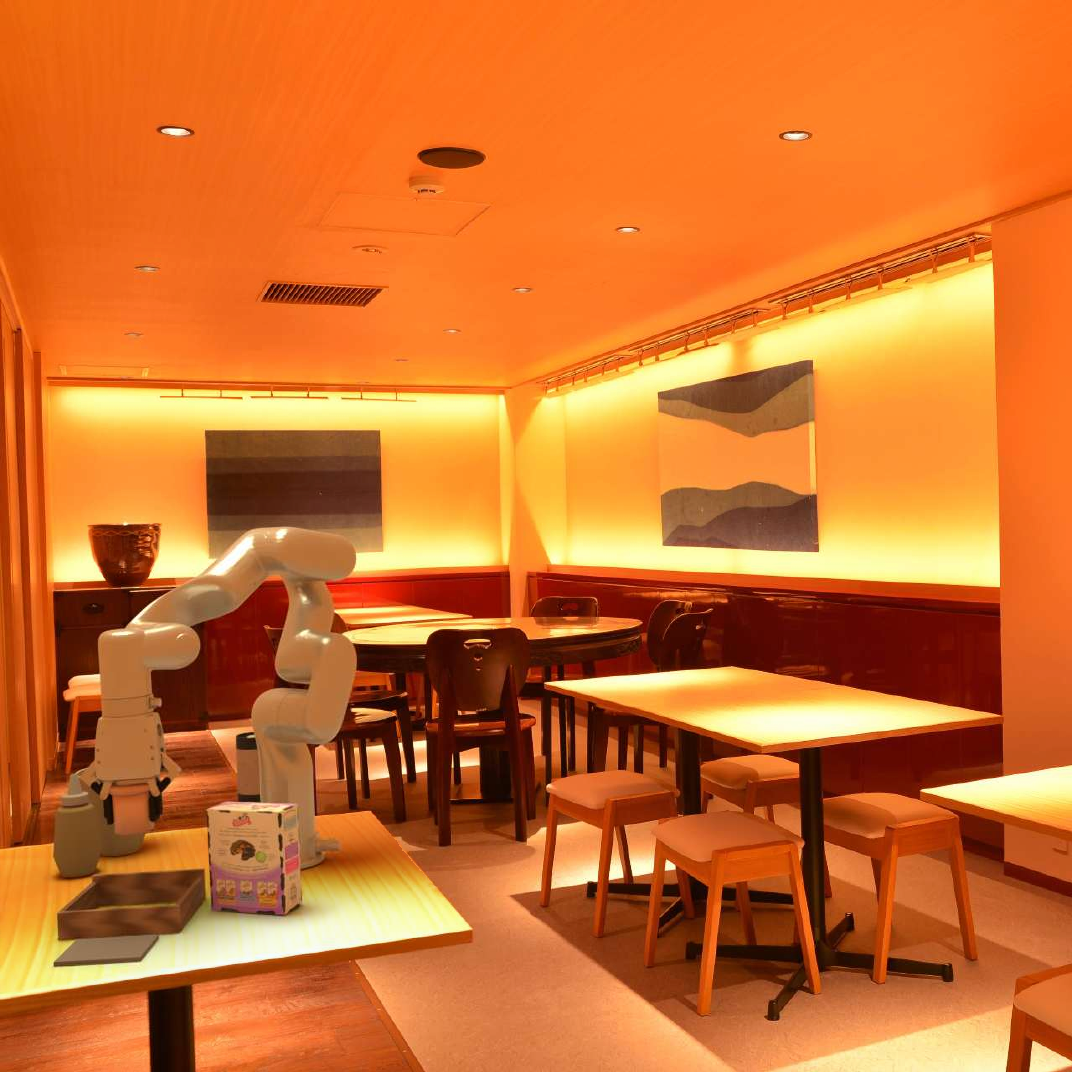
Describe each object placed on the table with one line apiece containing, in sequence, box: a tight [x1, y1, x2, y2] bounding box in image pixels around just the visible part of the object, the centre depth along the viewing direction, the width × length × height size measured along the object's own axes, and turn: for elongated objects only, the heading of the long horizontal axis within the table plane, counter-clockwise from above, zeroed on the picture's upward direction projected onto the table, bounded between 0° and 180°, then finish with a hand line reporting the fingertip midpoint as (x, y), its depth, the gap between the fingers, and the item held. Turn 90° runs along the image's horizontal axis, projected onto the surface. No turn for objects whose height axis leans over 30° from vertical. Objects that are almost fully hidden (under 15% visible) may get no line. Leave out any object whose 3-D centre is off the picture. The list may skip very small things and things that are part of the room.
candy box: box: [205, 800, 303, 916], centre depth 179 cm, size 14×6×16 cm, turn 71°
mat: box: [53, 934, 160, 967], centre depth 162 cm, size 12×9×1 cm
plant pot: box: [75, 767, 146, 857], centre depth 217 cm, size 15×15×16 cm
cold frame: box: [56, 868, 207, 941], centre depth 177 cm, size 18×16×5 cm
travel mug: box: [235, 731, 261, 803], centre depth 226 cm, size 8×8×20 cm
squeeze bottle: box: [52, 773, 101, 879], centre depth 203 cm, size 8×8×18 cm
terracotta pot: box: [109, 779, 155, 835], centre depth 177 cm, size 7×7×7 cm
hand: (133, 820), depth 177 cm, fingers closed on terracotta pot, 6 cm apart
